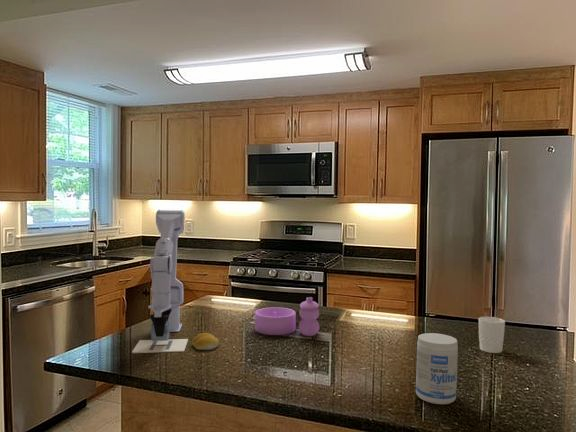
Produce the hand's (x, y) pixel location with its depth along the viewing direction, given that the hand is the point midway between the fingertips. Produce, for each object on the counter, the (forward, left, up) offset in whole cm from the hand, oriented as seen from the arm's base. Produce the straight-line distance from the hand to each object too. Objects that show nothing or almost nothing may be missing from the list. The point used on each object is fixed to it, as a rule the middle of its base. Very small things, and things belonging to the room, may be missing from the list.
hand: (161, 333), depth 146 cm
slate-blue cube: (0, 0, -2) cm, 2 cm away
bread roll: (+1, +14, -5) cm, 15 cm away
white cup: (+13, +107, -4) cm, 108 cm away
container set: (-14, +43, -4) cm, 46 cm away
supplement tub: (+45, +73, -4) cm, 86 cm away
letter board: (0, 0, -4) cm, 4 cm away
